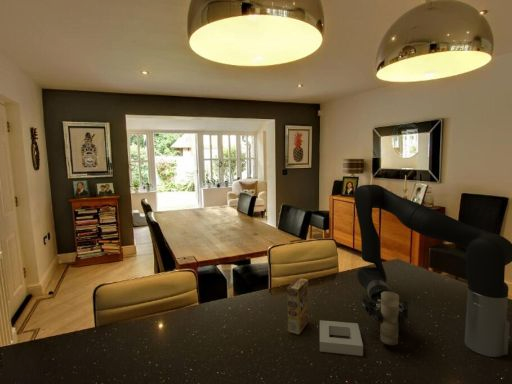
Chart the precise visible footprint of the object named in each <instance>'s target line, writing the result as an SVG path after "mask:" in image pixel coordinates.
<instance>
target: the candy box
mask: <svg viewBox="0 0 512 384" xmlns="http://www.w3.org/2000/svg"><path fill="white" fill-rule="evenodd" d="M286 289H287V290H286V291H287V293H286V297H287V298H286V299H287V300H286V301H287V332H288V333H292V334H294V335H295V334H296V335H300V334H301V333H302V331H303V330H304V329H305V327H306V325H308V323H309V279H305V278H301V277H297V278H296V279H295V280H294V281H292V282H291V283H290V284H289V285H288V286H287V288H286Z"/></svg>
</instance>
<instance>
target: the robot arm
mask: <svg viewBox="0 0 512 384" xmlns="http://www.w3.org/2000/svg"><path fill="white" fill-rule="evenodd" d="M353 197H354V206H355V210H356V211H355V212H356V217H357V221H358V225H359V231H360V241H361V243H360V245H361V259H362V261H364V262H367V263H370V264H374V265H375V267H374V266H373V267H371V266H362V267H361V268H359V269H358V271H357V272H356V273H357V274H356V275H357V280H358V282H359V284H360V285H361V286H362V287H363V289H365V290H366V291H367V296H368V298H369V300H367V299H364V298H363V299H362V301H361V306H362V309H363V310H364V311H365V312H366V313H367V314H368V316H372V317H373V316H374V317H375V318H376V321H377V322H379V323H380V324H381V323H383V315H382V313H381V293H382V292H385V291H389V292H392V290H391V288H390V287H389V286H388V284H387V279H388V278H387V277H388V276H387V274H386V271H385V268H384V264H383V261H382V255H381V251H382V249H381V239H380V236H379V235H380V234H379V233H378V231H377V228H376V227H375V223H374V220H373V209H380V210H383V211H385V212H386V213H390V214H391V215H393V216H394V217H396V219H397V220H398V221H399V222H400V223H401V224H402V225H403V226H404V227H406V228H408V229H409V230H411V231H414V232H415V233H417V234H419V235H421V236H424V237H427V238H430V239H433V240H438V241H442V242H445V243H446V242H447V243H450V244H453V245H457V246H458V247H460V248H463V249H465V279H466V281H467V294H466V295H467V296H466V311H465V331H464V345H465V346H466V347H467V348H468V349H470V350H471V351H473V352H474V353H477V354H480V355H482V356H484V357H485V356H486V357H490V358H500V357H502V356H508V353H509V342H510V341H509V340H510V328H511V327H510V326H511V324H510V322H509V321H508V320H507V314H508V303H509V302H508V301H509V286H508V284H507V283H506V281H505V274H506V273H505V270H506V266H507V265H509V264H511V263H512V242H511V241H510V240H508V238H507V237H505V236H502V235H499V234H497V233H494V232H490V231H487V230H484V229H481V228H478V227H475V226H472V225H470V224H466V223H464V222H462V221H460V220H457V219H456V218H453V217H451V216H449V215H447V214H444V213H441V212H440V211H438V210H435V209H433V208H431V207H428V206H426V205H424V204H421V203H418V202H416V201H413V200H410V199H408V198H405V197H403V196H399V195H398V194H396V193H394V192H392V191H390V190H388V189H387V188H385V187H383V186H381V185H379V184H374V183H373V184H363V185H359V186H358V187H356V189H355V191H354V194H353ZM408 312H409V303H408V302H407V301H403V303H402V302H401V303H400V302H399V323H398V324H399V325H401V326H402V325H404V324H405V322H406V319H408V318H409V317H408V314H409V313H408Z"/></svg>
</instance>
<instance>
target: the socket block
mask: <svg viewBox="0 0 512 384" xmlns="http://www.w3.org/2000/svg"><path fill="white" fill-rule="evenodd" d="M331 335H332V336H333V337H330V336H331ZM334 336H342V337H348V338H342V337H334ZM362 340H363V339H362V336H361V331H360V326H359V323H357V322H356V323H355V322H343V321H331V320H321V319H320V320H319V352H321V353H322V352H323V353H329V354H330V353H331V354H342V355H350V356H360V357H363V356H364V343H363V341H362Z"/></svg>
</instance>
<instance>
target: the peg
mask: <svg viewBox="0 0 512 384" xmlns="http://www.w3.org/2000/svg"><path fill="white" fill-rule="evenodd" d="M399 303H400V295H399V294H398V293H396V292H393V291H391V292H389V291H385V292H382V293H381V313H382V315H383V323H380V335H379V337H380V338H379V339H380V341H381V342H382V343H383V344H386V345H387V346H388V345H389V346H395V345H398V343H399V324H400V323H399V308H400V307H399Z"/></svg>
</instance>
